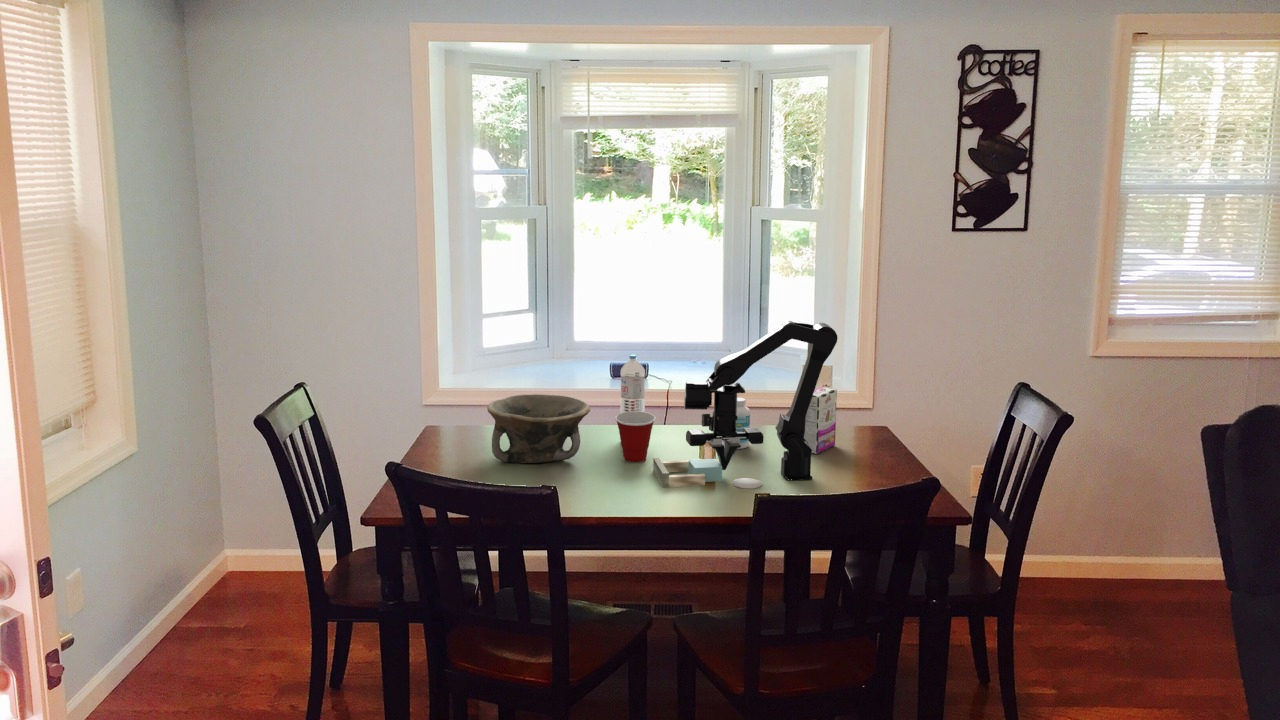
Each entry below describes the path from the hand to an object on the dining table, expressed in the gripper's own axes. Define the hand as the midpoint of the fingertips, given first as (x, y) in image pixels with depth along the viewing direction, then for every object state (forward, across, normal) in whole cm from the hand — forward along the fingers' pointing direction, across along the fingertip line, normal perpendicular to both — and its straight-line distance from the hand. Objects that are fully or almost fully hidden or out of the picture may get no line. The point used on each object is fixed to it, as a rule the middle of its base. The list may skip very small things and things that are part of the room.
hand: (723, 469), depth 245 cm
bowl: (+2, +45, -22) cm, 50 cm away
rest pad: (+2, -4, +7) cm, 8 cm away
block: (+2, +5, 0) cm, 5 cm away
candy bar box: (+2, -32, -20) cm, 38 cm away
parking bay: (+2, +11, 0) cm, 11 cm away
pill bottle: (+2, -10, -26) cm, 28 cm away
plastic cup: (+2, +20, -17) cm, 26 cm away
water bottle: (+2, +18, -34) cm, 38 cm away
